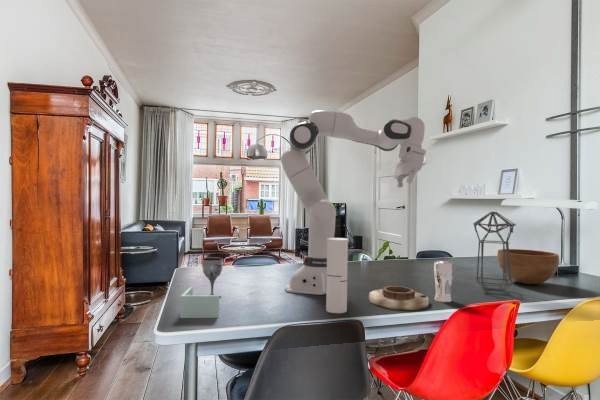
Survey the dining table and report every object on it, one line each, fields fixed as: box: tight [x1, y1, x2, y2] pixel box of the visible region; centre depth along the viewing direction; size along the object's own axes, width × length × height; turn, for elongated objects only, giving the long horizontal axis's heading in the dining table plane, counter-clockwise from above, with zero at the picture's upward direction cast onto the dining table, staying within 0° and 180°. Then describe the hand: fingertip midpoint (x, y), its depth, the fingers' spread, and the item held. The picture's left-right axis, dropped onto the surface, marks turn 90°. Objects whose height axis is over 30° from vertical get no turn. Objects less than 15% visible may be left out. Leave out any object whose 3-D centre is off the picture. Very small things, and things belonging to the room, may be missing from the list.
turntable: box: [368, 285, 430, 311], centre depth 136 cm, size 22×22×4 cm
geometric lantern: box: [472, 211, 517, 296], centre depth 154 cm, size 16×16×35 cm
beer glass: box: [433, 260, 454, 303], centre depth 138 cm, size 7×7×15 cm
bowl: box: [496, 248, 560, 285], centre depth 170 cm, size 25×25×15 cm
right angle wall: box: [179, 286, 220, 319], centre depth 120 cm, size 12×12×8 cm
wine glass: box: [201, 256, 224, 299], centre depth 138 cm, size 8×8×15 cm
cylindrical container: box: [325, 237, 349, 314], centre depth 123 cm, size 7×7×25 cm
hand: (404, 185), depth 149 cm, fingers open, 8 cm apart
